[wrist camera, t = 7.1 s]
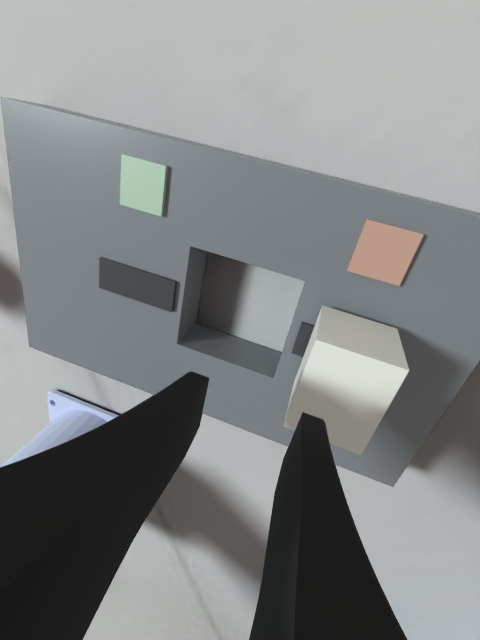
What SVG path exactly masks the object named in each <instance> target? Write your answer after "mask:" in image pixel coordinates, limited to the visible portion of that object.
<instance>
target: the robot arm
mask: <svg viewBox="0 0 480 640" xmlns="http://www.w3.org/2000/svg"><path fill="white" fill-rule="evenodd" d="M209 379H210V378H209V377H206V376H203V375H200V374H198V373H195V372H192V371H190V372H188V373H186V374H185V375H183V376H182V377H180V378H179V379H177V380H176V381H175V382H173V383H172V384H170V385H169V386H167V387H166V388H164V389H163V390H161V391H159V392H158V393H156V394H155V395H153V396H152V397H150V398H148V399H147V400H145V401H143V402H142V403H140V404H138V405H137V406H135V407H134V408H132V409H130V410H128V411H126V412H125V413H123V414H121V415H116V414H114V413H111V412H109V411H106V410H104V409H101V408H99V407H96V406H94V405H91V404H89V403H86V402H84V401H82V400H79V399H77V398H74V397H72V396H69V395H67V394H64V393H62V392H59V391H57V390H51V391H50V392H48V393H47V399H48V410H49V421H50V423H49V424H48V425H47V426H46V427H45V428H44V429H42V430H41V431H40V432H39V433H38V434H37V435H36V436H34V437H33V438H32V439H31V440H30V441H29V442H28V443H27V444H25V445H24V446H23V447H22V448H21V449H20V450H19V451H17V452H16V453H15V454H14V455H13V456H12V457H11V458H9V459H8V460H7V461H6V462H5V463H4V464H3V465H2V466H0V640H83V638H84V636H85V634H86V632H87V630H88V628H89V626H90V624H91V621H92V619H93V617H94V616H95V614H96V612H97V610H98V608H99V606H100V604H101V602H102V600H103V598H104V596H105V594H106V592H107V590H108V588H109V586H110V584H111V582H112V580H113V578H114V576H115V574H116V572H117V570H118V568H119V566H120V564H121V562H122V561H123V559H124V557H125V555H126V553H127V551H128V549H129V547H130V545H131V543H132V541H133V539H134V538H135V536H136V534H137V533H138V531H139V529H140V527H141V526H142V524H143V522H144V521H145V519H146V518H147V516H148V514H149V513H150V511H151V510H152V508H153V507H154V505H155V503H156V502H157V500H158V499H159V497H160V495H161V494H162V492H163V491H164V489H165V488H166V486H167V484H168V483H169V481H170V480H171V478H172V476H173V475H174V473H175V472H176V470H177V468H178V467H179V465H180V464H181V462H182V460H183V459H184V457H185V455H186V453H187V451H188V449H189V447H190V445H191V443H192V441H193V439H194V437H195V435H196V433H197V431H198V428H199V426H200V422H201V417H202V412H203V407H204V402H205V398H206V393H207V388H208V383H209ZM249 640H407V638H406V636H405V634H404V632H403V630H402V629H401V627H400V625H399V623H398V621H397V619H396V617H395V615H394V613H393V611H392V609H391V607H390V605H389V602H388V600H387V598H386V596H385V594H384V592H383V590H382V588H381V586H380V583H379V581H378V579H377V577H376V575H375V572H374V570H373V568H372V565H371V563H370V561H369V559H368V556H367V554H366V552H365V549H364V547H363V544H362V542H361V539H360V537H359V534H358V532H357V529H356V526H355V524H354V521H353V518H352V515H351V513H350V510H349V507H348V504H347V501H346V498H345V495H344V492H343V489H342V486H341V483H340V479H339V476H338V473H337V469H336V466H335V462H334V458H333V455H332V451H331V447H330V442H329V438H328V433H327V428H326V423H325V422H324V420H323V419H321V418H318V417H315V416H312V415H310V414H307V413H304V412H302V415H301V417H300V419H299V422H298V424H297V427H296V429H295V432H294V434H293V437H292V439H291V442H290V444H289V447H288V449H287V452H286V454H285V456H284V459H283V463H282V466H281V470H280V474H279V478H278V482H277V486H276V490H275V495H274V502H273V508H272V515H271V522H270V529H269V535H268V542H267V549H266V556H265V563H264V570H263V577H262V583H261V588H260V594H259V599H258V604H257V608H256V612H255V617H254V621H253V625H252V630H251V634H250V638H249Z"/></svg>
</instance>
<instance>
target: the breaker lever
mask: <svg viewBox="0 0 480 640" xmlns="http://www.w3.org/2000/svg"><path fill="white" fill-rule="evenodd" d="M408 372H409V368H408V364H407V361H406V357H405V354H404V350H403V347H402V343H401V340H400V336H399V333H398V329H397V328H394V327H390V326H387V325H384V324H381V323H378V322H374V321H371V320H368V319H365V318H362V317H358V316H355V315H352V314H349V313H346V312H342V311H339V310H336V309H333V308H330V307H326V306H323V305H322V307H321V310H320V313H319V315H318V318H317V321H316V324H315V326H314V329H313V332H312V334H311V337H310V340H309V343H308V345H307V348H306V351H305V353H304V356H303V359H302V362H301V364H300V367H299V370H298V373H297V375H296V378H295V381H294V384H293V389H292V393H291V397H290V401H289V405H288V409H287V413H286V417H285V421H284V425H283V426H284V427H287V428H290V429H292V430H295V429H296V427H297V424H298V422H299V419H300V417H301V415H302V412H304V413H307V414H310V415H312V416H315V417H318V418H321V419H323V420H324V422H325V423H326V428H327V433H328V438H329V442H330V444H332V445H335V446H337V447H340V448H343V449H345V450H348V451H351V452H353V453H356V454H359V455H362V453H363V451H364V449H365V448H366V446H367V444H368V442H369V441H370V439H371V437H372V435H373V433H374V432H375V430H376V428H377V426H378V425H379V423H380V421H381V419H382V418H383V416H384V414H385V412H386V411H387V409H388V407H389V405H390V404H391V402H392V400H393V398H394V397H395V395H396V393H397V391H398V390H399V388H400V386H401V384H402V382H403V381H404V379H405V377H406V375H407V374H408Z"/></svg>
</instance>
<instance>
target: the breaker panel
mask: <svg viewBox="0 0 480 640" xmlns="http://www.w3.org/2000/svg"><path fill="white" fill-rule="evenodd" d="M1 105H2V114H3V123H4V132H5V140H6V149H7V158H8V166H9V175H10V184H11V192H12V201H13V210H14V218H15V227H16V236H17V244H18V253H19V262H20V270H21V279H22V288H23V296H24V305H25V314H26V322H27V331H28V340H29V347H31V348H34V349H37V350H39V351H42V352H44V353H47V354H50V355H52V356H55V357H57V358H60V359H62V360H65V361H68V362H70V363H73V364H75V365H78V366H81V367H83V368H86V369H88V370H91V371H94V372H96V373H99V374H101V375H104V376H107V377H109V378H112V379H114V380H117V381H120V382H122V383H125V384H127V385H130V386H133V387H135V388H138V389H140V390H143V391H145V392H148V393H151V394H153V395H155V394H156V393H158V392H159V391H161V390H163V389H164V388H166V387H167V386H169V385H170V384H172V383H173V382H175V381H176V380H177V379H179V378H180V377H182V376H183V375H185V374H186V373H188V372H190V371H192V372H195V373H198V374H200V375H203V376H206V377H209V378H210V379H209V383H208V388H207V393H206V398H205V402H204V407H203V412H202V413H203V414H205V415H208V416H210V417H213V418H216V419H218V420H221V421H223V422H226V423H228V424H231V425H234V426H236V427H239V428H241V429H244V430H247V431H249V432H252V433H254V434H257V435H260V436H262V437H265V438H267V439H270V440H273V441H275V442H278V443H280V444H283V445H286V446H288V447H289V444H290V442H291V439H292V437H293V434H294V432H295V430H292V429H290V428H287V427H284V426H283V425H284V421H285V417H286V413H287V409H288V405H289V401H290V397H291V393H292V389H293V384H294V381H295V378H296V375H297V373H298V370H299V367H300V364H301V362H302V359H303V356H304V353H305V351H306V348H307V345H308V343H309V340H310V337H311V334H312V332H313V329H314V326H315V324H316V321H317V318H318V315H319V313H320V310H321V307H322V305H323V306H326V307H330V308H333V309H336V310H339V311H342V312H346V313H349V314H352V315H355V316H358V317H362V318H365V319H368V320H371V321H374V322H378V323H381V324H384V325H387V326H390V327H394V328H397V329H398V333H399V336H400V340H401V343H402V347H403V350H404V354H405V357H406V361H407V364H408V368H409V372H408V374H407V375H406V377H405V379H404V381H403V382H402V384H401V386H400V388H399V390H398V391H397V393H396V395H395V397H394V398H393V400H392V402H391V404H390V405H389V407H388V409H387V411H386V412H385V414H384V416H383V418H382V419H381V421H380V423H379V425H378V426H377V428H376V430H375V432H374V433H373V435H372V437H371V439H370V441H369V442H368V444H367V446H366V448H365V449H364V451H363V453H362V455H359V454H356V453H353V452H351V451H348V450H345V449H343V448H340V447H337V446H335V445H332V444H330V447H331V451H332V455H333V458H334V462H335V465H337V466H340V467H343V468H345V469H348V470H350V471H353V472H356V473H358V474H361V475H363V476H366V477H369V478H371V479H374V480H376V481H379V482H381V483H384V484H387V485H389V486H392V487H393V486H394V485H395V483H396V482H397V481H398V479H399V478H400V476H401V475H402V473H403V472H404V470H405V469H406V467H407V466H408V464H409V463H410V462H411V460H412V459H413V457H414V456H415V454H416V453H417V451H418V450H419V448H420V447H421V445H422V444H423V443H424V441H425V440H426V438H427V437H428V435H429V434H430V432H431V431H432V429H433V428H434V426H435V425H436V423H437V422H438V421H439V419H440V418H441V416H442V415H443V413H444V412H445V410H446V409H447V407H448V406H449V404H450V403H451V402H452V400H453V399H454V397H455V396H456V394H457V393H458V391H459V390H460V388H461V387H462V385H463V384H464V383H465V381H466V380H467V378H468V377H469V375H470V374H471V372H472V371H473V369H474V368H475V366H476V365H477V364H478V362H479V361H480V213H477V212H473V211H469V210H465V209H461V208H457V207H453V206H449V205H445V204H441V203H437V202H433V201H429V200H425V199H421V198H417V197H413V196H409V195H405V194H401V193H397V192H393V191H389V190H385V189H381V188H377V187H373V186H369V185H365V184H361V183H357V182H353V181H349V180H345V179H341V178H337V177H332V176H328V175H324V174H320V173H316V172H312V171H308V170H304V169H300V168H296V167H292V166H288V165H284V164H280V163H276V162H272V161H268V160H264V159H260V158H256V157H252V156H248V155H244V154H240V153H236V152H232V151H228V150H224V149H220V148H216V147H212V146H208V145H204V144H200V143H196V142H192V141H188V140H184V139H180V138H176V137H172V136H168V135H164V134H160V133H156V132H152V131H148V130H144V129H140V128H136V127H132V126H128V125H124V124H120V123H116V122H112V121H108V120H104V119H100V118H96V117H92V116H88V115H84V114H80V113H76V112H72V111H68V110H64V109H60V108H56V107H52V106H48V105H43V104H37V103H32V102H26V101H21V100H15V99H10V98H4V97H1ZM208 252H211V253H215V254H218V255H221V256H225V257H228V258H231V259H235V260H238V261H241V262H244V263H248V264H251V265H254V266H258V267H261V268H264V269H268V270H271V271H274V272H277V273H281V274H284V275H287V276H291V277H294V278H297V279H301V280H304V281H305V284H304V287H303V290H302V293H301V296H300V299H299V302H298V305H297V308H296V311H295V314H294V317H293V321H292V324H291V327H290V330H289V333H288V336H287V339H286V342H285V345H284V348H283V351H282V352H279V351H276V350H273V349H270V348H267V347H264V346H261V345H258V344H255V343H253V342H250V341H247V340H244V339H241V338H238V337H235V336H232V335H229V334H226V333H223V332H220V331H217V330H214V329H211V328H209V327H206V326H203V325H200V324H197V323H196V320H197V314H198V308H199V302H200V296H201V290H202V284H203V278H204V272H205V266H206V260H207V254H208Z"/></svg>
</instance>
